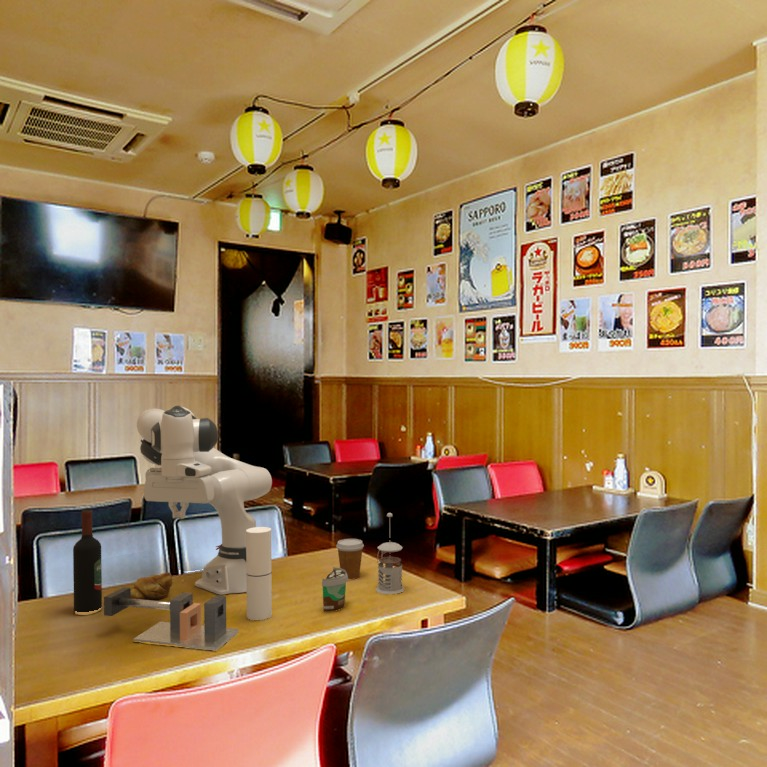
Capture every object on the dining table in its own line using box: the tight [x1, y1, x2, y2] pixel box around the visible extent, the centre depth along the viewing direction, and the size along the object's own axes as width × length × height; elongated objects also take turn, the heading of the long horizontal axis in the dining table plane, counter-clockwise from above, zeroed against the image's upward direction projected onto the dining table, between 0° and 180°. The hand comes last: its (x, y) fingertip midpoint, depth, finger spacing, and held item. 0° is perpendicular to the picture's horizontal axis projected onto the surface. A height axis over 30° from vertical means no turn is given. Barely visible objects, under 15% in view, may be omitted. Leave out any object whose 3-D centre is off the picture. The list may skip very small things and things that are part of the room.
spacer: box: [180, 602, 202, 640], centre depth 165 cm, size 2×7×7 cm, turn 166°
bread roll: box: [131, 572, 174, 601], centre depth 197 cm, size 13×10×8 cm
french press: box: [375, 512, 405, 595], centre depth 203 cm, size 10×12×25 cm
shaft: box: [103, 586, 170, 617], centre depth 169 cm, size 21×8×5 cm, turn 76°
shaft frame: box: [132, 592, 240, 652], centre depth 166 cm, size 24×12×11 cm, turn 76°
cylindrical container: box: [246, 526, 273, 621], centre depth 181 cm, size 7×7×25 cm
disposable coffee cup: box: [335, 538, 365, 580], centre depth 216 cm, size 10×10×12 cm
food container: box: [321, 567, 349, 613], centre depth 188 cm, size 12×6×10 cm, turn 168°
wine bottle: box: [72, 509, 103, 612], centre depth 186 cm, size 8×8×30 cm
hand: (179, 518), depth 173 cm, fingers closed
